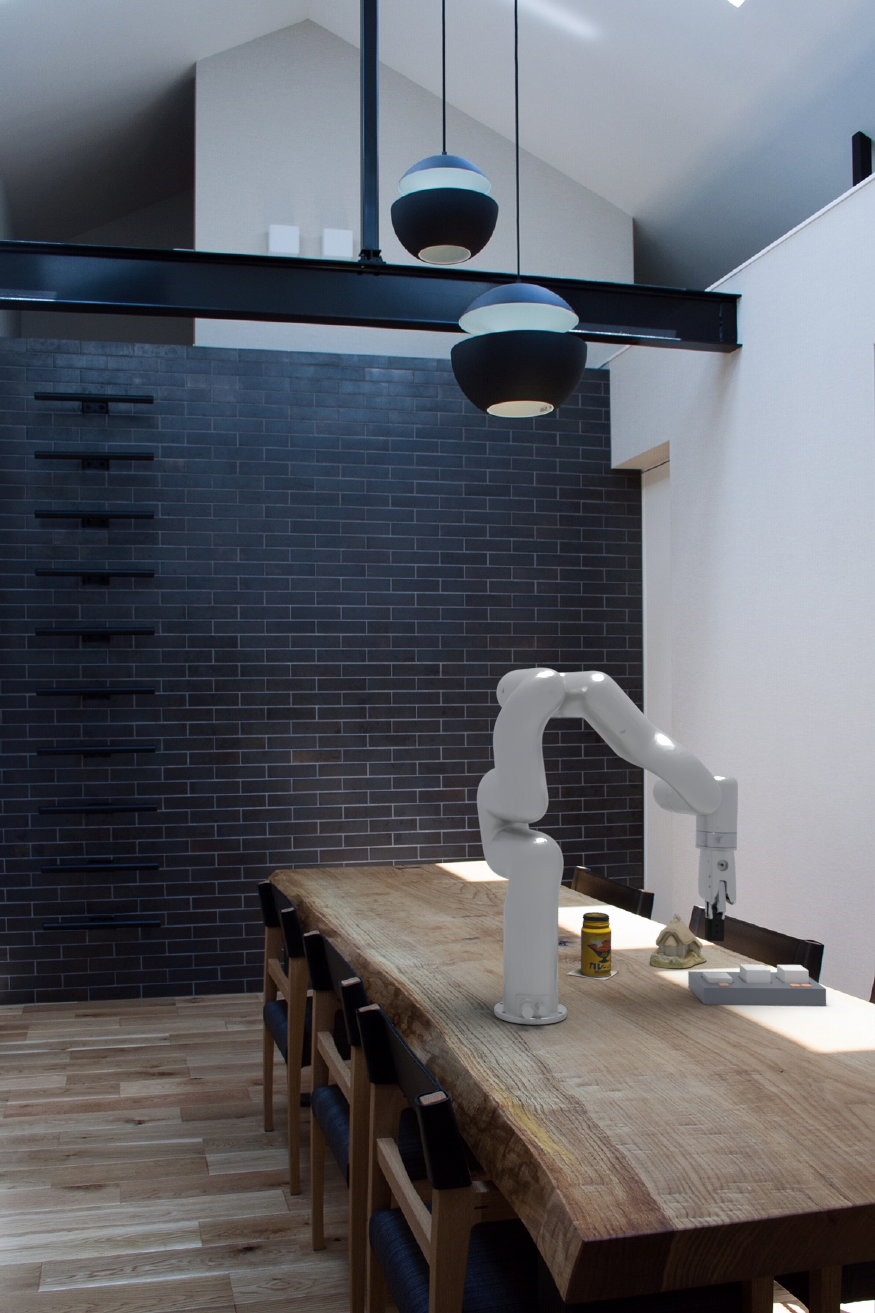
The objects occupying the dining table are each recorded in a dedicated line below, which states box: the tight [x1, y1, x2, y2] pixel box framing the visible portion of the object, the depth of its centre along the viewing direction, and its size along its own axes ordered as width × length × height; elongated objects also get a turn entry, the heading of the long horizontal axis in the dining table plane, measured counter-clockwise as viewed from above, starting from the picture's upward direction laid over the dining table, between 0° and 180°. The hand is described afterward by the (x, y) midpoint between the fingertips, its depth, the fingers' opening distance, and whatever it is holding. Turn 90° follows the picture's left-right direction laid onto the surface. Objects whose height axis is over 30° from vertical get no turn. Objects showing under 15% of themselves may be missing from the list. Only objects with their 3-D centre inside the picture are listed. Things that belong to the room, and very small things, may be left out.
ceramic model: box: [649, 913, 707, 969], centre depth 223 cm, size 14×11×10 cm
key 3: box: [702, 971, 733, 983], centre depth 196 cm, size 4×4×4 cm
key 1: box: [776, 964, 810, 984], centre depth 196 cm, size 4×4×4 cm
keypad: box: [687, 970, 827, 1007], centre depth 196 cm, size 12×22×3 cm, turn 90°
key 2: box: [739, 963, 772, 983], centre depth 196 cm, size 4×4×4 cm
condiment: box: [566, 911, 618, 981], centre depth 212 cm, size 7×8×12 cm
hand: (714, 940), depth 196 cm, fingers closed
